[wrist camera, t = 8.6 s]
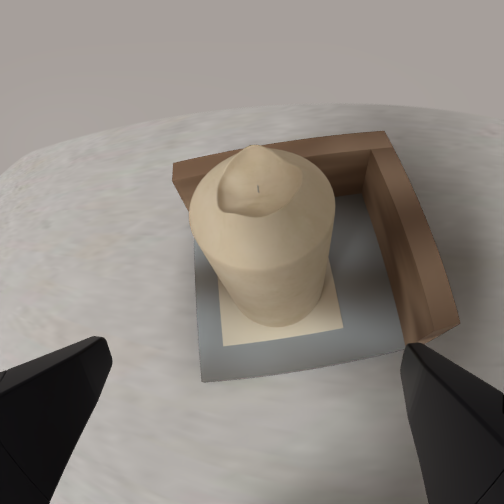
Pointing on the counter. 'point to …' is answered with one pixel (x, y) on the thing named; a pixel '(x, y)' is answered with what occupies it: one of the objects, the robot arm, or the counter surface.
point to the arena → (334, 271)
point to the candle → (266, 231)
